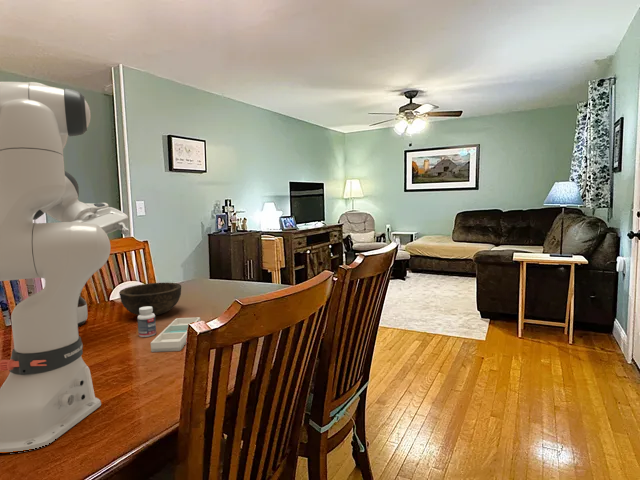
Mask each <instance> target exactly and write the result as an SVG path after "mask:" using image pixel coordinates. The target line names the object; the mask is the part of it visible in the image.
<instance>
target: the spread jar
mask: <svg viewBox="0 0 640 480" xmlns="http://www.w3.org/2000/svg"><path fill="white" fill-rule="evenodd" d="M88 315H89V314H88V304H87V301H86V300H85V299H84V298H83V297H82V296H81V295H80V296H79V300H78V311H77V318H78V327H80V326H82V325H83V324H85V323H86V321H87V319H88Z"/></svg>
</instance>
